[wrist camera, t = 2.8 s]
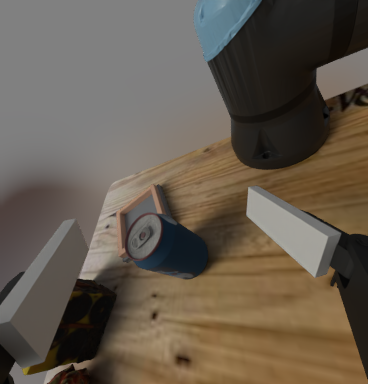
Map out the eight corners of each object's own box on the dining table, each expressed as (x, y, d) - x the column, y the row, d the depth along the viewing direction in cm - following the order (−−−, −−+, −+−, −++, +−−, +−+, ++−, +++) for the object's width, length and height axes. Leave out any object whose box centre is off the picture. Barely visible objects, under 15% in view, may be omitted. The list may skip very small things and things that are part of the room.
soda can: (196, 228, 31) (152, 197, 22) (220, 259, 26) (175, 234, 17) (169, 255, 31) (116, 234, 23) (187, 290, 26) (128, 281, 18)
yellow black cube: (93, 279, 39) (44, 272, 32) (119, 293, 33) (67, 288, 26) (68, 334, 34) (7, 340, 27) (93, 361, 28) (23, 378, 21)
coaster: (161, 186, 42) (154, 180, 40) (176, 229, 33) (168, 224, 31) (123, 216, 44) (114, 211, 42) (127, 262, 35) (117, 260, 33)
